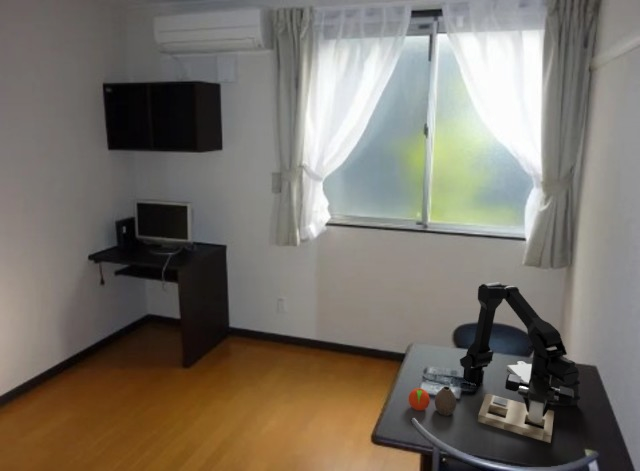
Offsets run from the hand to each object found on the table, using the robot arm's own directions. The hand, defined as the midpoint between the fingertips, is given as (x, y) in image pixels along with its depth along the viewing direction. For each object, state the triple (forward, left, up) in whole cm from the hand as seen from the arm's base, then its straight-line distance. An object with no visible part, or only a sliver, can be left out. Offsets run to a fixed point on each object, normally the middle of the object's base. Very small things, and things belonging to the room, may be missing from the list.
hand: (535, 413), depth 148 cm
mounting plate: (-3, +34, -6) cm, 35 cm away
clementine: (-34, -8, -6) cm, 36 cm away
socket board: (-5, +2, -5) cm, 8 cm away
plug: (0, 0, -2) cm, 2 cm away
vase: (-26, -5, -6) cm, 28 cm away
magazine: (+6, +19, -6) cm, 21 cm away
